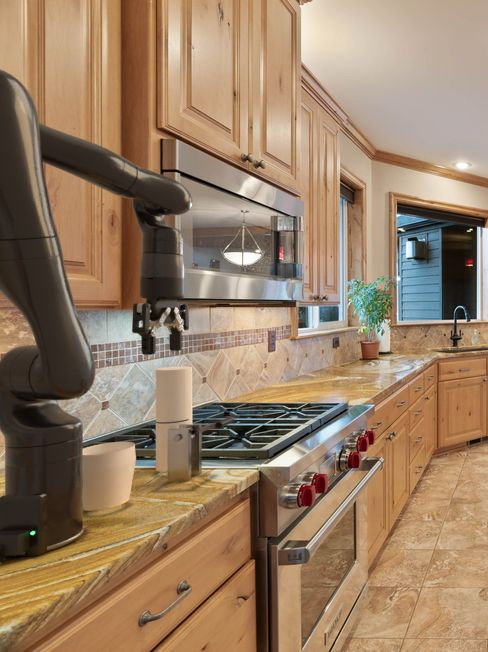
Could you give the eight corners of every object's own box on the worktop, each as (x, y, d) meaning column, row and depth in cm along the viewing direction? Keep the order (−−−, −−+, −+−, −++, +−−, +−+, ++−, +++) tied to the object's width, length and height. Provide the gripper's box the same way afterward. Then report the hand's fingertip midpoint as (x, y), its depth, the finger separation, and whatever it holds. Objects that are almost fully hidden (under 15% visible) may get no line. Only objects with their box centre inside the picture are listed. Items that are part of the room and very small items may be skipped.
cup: (91, 502, 94) (91, 443, 94) (144, 497, 97) (144, 440, 96) (63, 522, 85) (63, 457, 85) (122, 515, 88) (122, 452, 88)
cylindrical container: (148, 475, 109) (148, 369, 109) (177, 465, 116) (177, 365, 116) (170, 478, 107) (170, 370, 107) (199, 468, 114) (199, 367, 114)
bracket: (214, 475, 109) (214, 421, 109) (191, 490, 100) (191, 431, 100) (178, 476, 109) (178, 422, 108) (152, 491, 100) (152, 432, 100)
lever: (236, 423, 108) (232, 413, 108) (223, 429, 102) (220, 419, 102) (187, 438, 107) (184, 428, 107) (172, 445, 102) (169, 434, 101)
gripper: (166, 278, 105) (166, 349, 105) (118, 273, 91) (118, 356, 91) (200, 278, 106) (200, 349, 106) (158, 273, 91) (158, 355, 91)
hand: (162, 352), depth 98 cm, fingers open, 8 cm apart
